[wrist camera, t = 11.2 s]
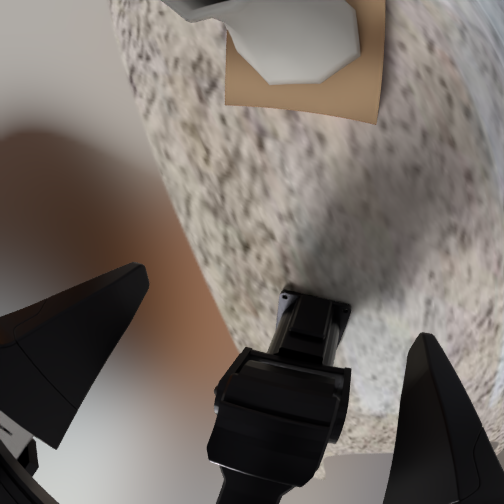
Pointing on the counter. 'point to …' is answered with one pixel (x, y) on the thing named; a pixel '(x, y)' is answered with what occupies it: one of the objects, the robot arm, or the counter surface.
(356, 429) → the counter surface
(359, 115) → the square wooden block
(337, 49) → the flask
